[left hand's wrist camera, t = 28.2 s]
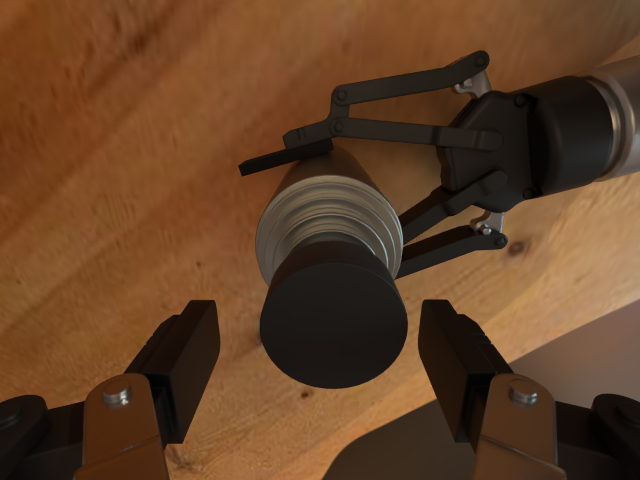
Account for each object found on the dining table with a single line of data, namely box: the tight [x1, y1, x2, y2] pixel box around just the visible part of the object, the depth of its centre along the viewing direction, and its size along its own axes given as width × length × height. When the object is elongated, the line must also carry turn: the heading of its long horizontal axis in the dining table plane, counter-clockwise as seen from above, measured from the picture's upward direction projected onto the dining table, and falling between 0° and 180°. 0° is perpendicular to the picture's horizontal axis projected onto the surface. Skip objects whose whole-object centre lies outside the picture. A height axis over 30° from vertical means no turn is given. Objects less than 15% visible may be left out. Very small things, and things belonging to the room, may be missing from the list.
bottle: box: [255, 146, 403, 286], centre depth 21 cm, size 7×7×22 cm
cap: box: [260, 240, 408, 389], centre depth 11 cm, size 4×4×2 cm
